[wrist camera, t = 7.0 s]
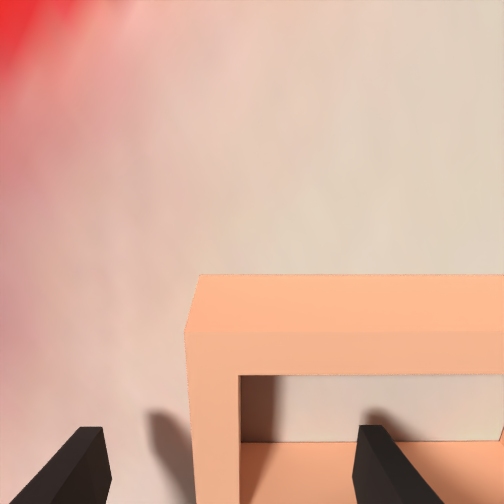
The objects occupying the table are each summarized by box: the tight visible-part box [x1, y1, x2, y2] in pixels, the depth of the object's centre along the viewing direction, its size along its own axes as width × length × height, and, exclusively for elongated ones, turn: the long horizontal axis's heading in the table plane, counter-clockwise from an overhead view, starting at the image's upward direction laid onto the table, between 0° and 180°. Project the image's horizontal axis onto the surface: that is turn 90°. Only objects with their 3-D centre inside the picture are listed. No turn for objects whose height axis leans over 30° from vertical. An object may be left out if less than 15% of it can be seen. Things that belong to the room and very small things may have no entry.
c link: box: [184, 275, 504, 504], centre depth 11 cm, size 12×8×3 cm, turn 90°
